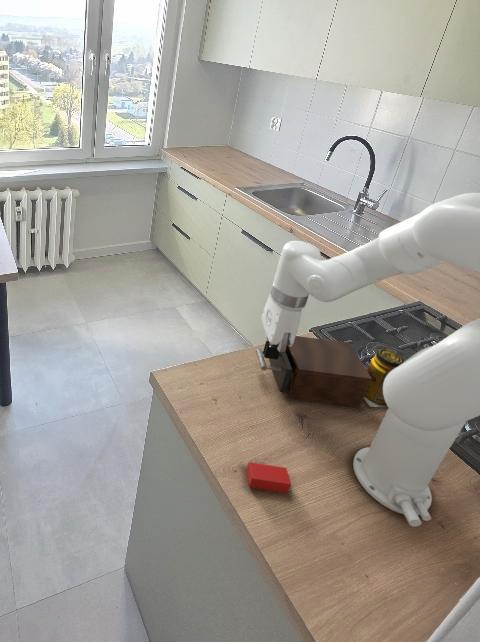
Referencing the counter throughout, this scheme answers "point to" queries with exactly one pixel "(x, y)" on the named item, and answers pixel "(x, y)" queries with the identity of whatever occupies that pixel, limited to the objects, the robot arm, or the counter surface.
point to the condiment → (380, 375)
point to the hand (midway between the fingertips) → (270, 356)
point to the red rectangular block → (268, 477)
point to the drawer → (280, 368)
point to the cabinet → (328, 372)
